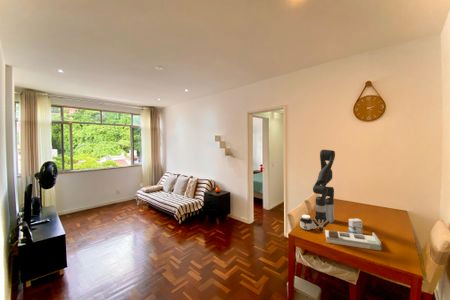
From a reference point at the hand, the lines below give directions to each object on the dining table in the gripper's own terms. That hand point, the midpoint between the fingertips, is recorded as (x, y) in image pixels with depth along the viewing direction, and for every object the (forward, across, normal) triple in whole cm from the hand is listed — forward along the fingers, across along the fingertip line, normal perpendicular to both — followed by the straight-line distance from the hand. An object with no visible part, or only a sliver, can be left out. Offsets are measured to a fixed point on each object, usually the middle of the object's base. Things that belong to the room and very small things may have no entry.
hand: (320, 231), depth 155 cm
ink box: (+6, -27, -18) cm, 33 cm away
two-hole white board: (+6, -21, -4) cm, 22 cm away
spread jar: (+6, +9, -16) cm, 19 cm away
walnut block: (+4, -9, 0) cm, 10 cm away
